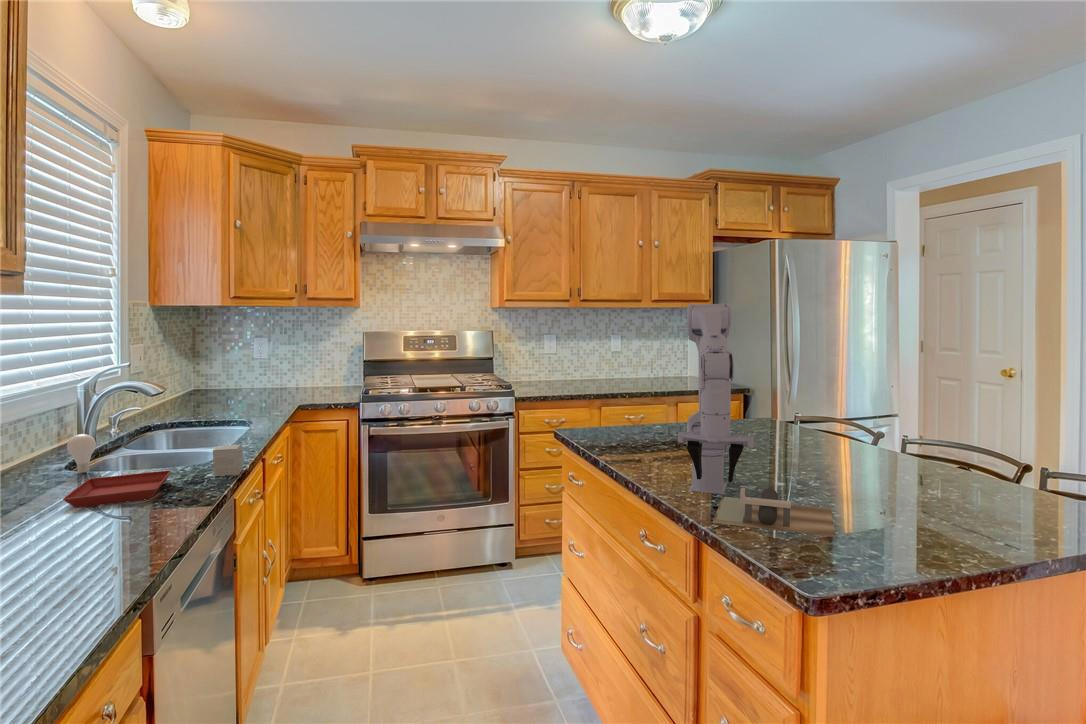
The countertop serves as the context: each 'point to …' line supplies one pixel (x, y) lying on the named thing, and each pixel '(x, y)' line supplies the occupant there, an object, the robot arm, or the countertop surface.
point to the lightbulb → (81, 450)
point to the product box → (227, 460)
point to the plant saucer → (117, 489)
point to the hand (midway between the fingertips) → (714, 479)
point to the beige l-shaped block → (763, 501)
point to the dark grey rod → (768, 508)
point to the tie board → (787, 518)
